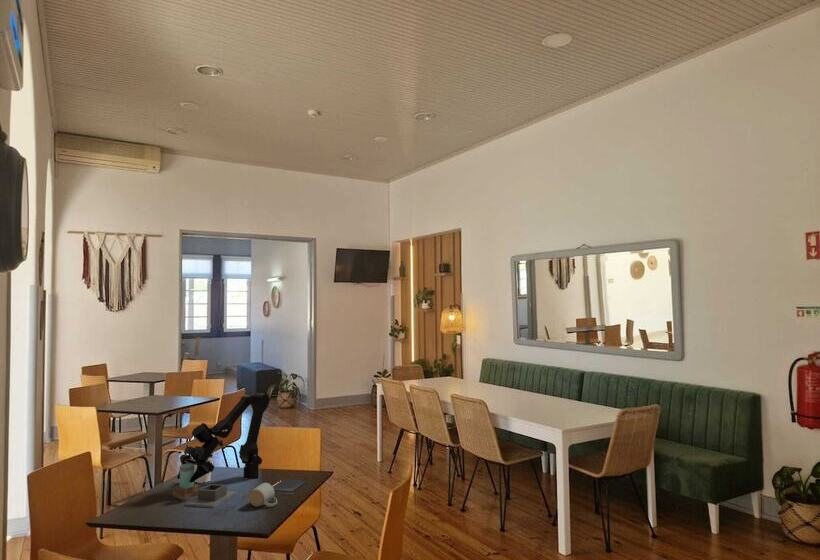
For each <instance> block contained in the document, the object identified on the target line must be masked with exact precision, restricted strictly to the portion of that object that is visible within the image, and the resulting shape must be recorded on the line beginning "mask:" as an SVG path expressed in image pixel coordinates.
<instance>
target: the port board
mask: <svg viewBox="0 0 820 560" xmlns="http://www.w3.org/2000/svg"><path fill="white" fill-rule="evenodd" d="M236 495H237V490H236V491H233V490H228V486H227V484H219V483H218V484H216V483H208V484H207V485H205V486H203V487H202V488H201V487H200V489H199V490H198V495H197V497H196V498H194V499H192V500H190V501H188V502H186V507H195V508H198V507H199V508H209V509H210V508H211V509H213V508H216V507H217V506H219V505H221V504H222V503H225V502H226V501H227V500H229V499H231V498H232V497H234V496H236Z"/></svg>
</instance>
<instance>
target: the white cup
mask: <svg viewBox="0 0 820 560" xmlns="http://www.w3.org/2000/svg"><path fill="white" fill-rule="evenodd" d="M208 460H209V461H210V462H211V463H212V464H213V457H209V458H208ZM196 469H197V465H194V472H195V471H196ZM211 476H212V473H211V472H209V473H207V474H205V475H204V476H202V477H200V478H198V479H197V480H195V481H194V483H196V482H197V483H196V484H204V483H203V482H205V483H208V481H209V482H210V481H211Z"/></svg>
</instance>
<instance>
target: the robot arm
mask: <svg viewBox="0 0 820 560" xmlns="http://www.w3.org/2000/svg"><path fill="white" fill-rule="evenodd" d="M270 401H271V398H270V396H269V394H266V393H259V392H256V393H254V394H253V395H243V396H241V398H240V400H239V401H238V402H237V403H236V404H235V406H234V407H233V408H232V409H231V410H230V412H229V413H228V414H227V415H226V416H225V417H224V418H223V419H221V420H219V421H218V422H216V423H215V425H213V426H212V427H210V428H209V427H208V425H207V424H206V422H205V423H204V422H201V424H198V425H197V426H196V427H195V428H194V429H193V430H192V432H191V435H192V436H193V437H194V438H195V439H196V440H197V441H198V442H199V443H200V444H202V445H201V446H199V445H198V446H197V445H196V446H195V447H193V446H189V445H186V447H185V448H184V450H183V453H184V454H181V455H180V457H179V462H180V465H183V464H187V463H191V464H194V465H197V469H196V471H194V474H193V476H192V477H191V479H190V481H189V482H190V483H192V482H193V481H194V482H195V480H197V479H198V478H200V477H202V476H204V475H205V474H207V473H209V472H211V474H212V473H213V471H214V470H215V465H214V464H213V462H212V463H211V462H210V461H209V460H208V458H209V457H210V458H213V456H214V454H213V453H214V451H215V450H216V449H217V448H218V447H223V446H224V444H223V443H224V442H223V440H222V439H226V438H228V437H229V435H230V434H231V433H232V431H233V428H234V425H235V423H236V422H237V421H238V419H239V418H240V417H241V416H242V414H244V412H245V411H246V410H247V409H248V408H249V406H250V405H251V408H252V414H251V418H250V419H251V420H250V422H249V423H250V424H249V427H248V428H249V429H248V432H247V435H246V440H245V443H243V444H240V446H239V451H238V454H239V456H238V457H239V458H240V461H241V463H242V464H244V467H243V478H244V479H245V478H251V479H257V478H256V477H260V476H259V475H260V474H259V472H260V471H259V468H260V465H262V464H263V458H262V457H261V456H260V455H259V447H258V438H259V434H260V429H261V425H262V421H263V415H264V412H266V410H267V409H268V406H269V404H270ZM219 438H220V439H219ZM176 479H178V480H180V470H179V471H178V473H177V476H176Z"/></svg>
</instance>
